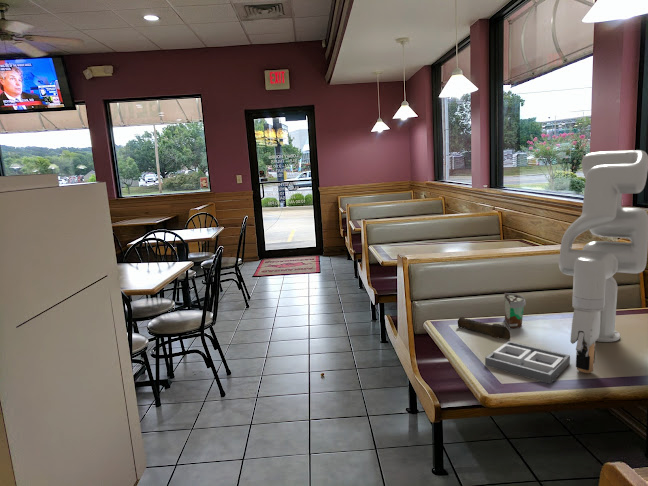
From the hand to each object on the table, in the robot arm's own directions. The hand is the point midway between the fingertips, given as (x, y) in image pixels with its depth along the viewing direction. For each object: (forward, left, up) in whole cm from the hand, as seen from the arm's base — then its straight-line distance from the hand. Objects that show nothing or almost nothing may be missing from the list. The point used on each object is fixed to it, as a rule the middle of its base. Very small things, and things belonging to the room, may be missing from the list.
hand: (585, 365), depth 129 cm
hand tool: (-12, -35, -3) cm, 37 cm away
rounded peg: (0, 0, -1) cm, 1 cm away
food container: (-26, -30, -2) cm, 40 cm away
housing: (+5, -14, -2) cm, 15 cm away
